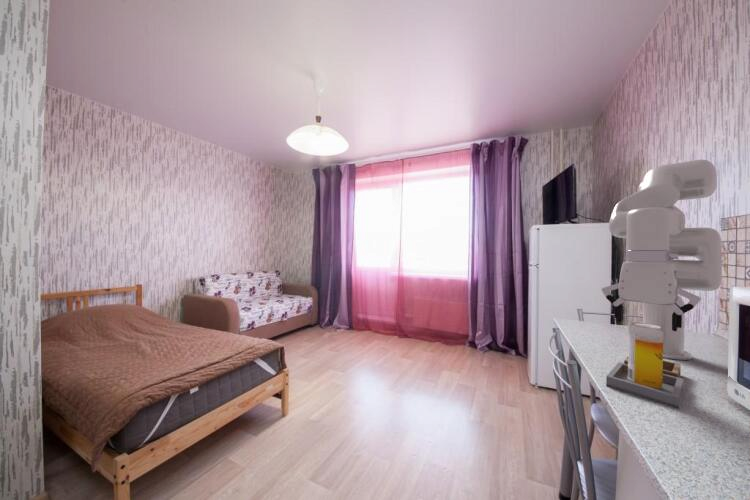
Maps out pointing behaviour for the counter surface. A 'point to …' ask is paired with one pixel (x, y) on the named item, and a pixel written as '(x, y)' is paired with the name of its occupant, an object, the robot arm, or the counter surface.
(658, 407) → the counter surface
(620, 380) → the tray
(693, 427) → the counter surface
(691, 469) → the counter surface
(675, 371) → the collar
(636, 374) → the beer can
